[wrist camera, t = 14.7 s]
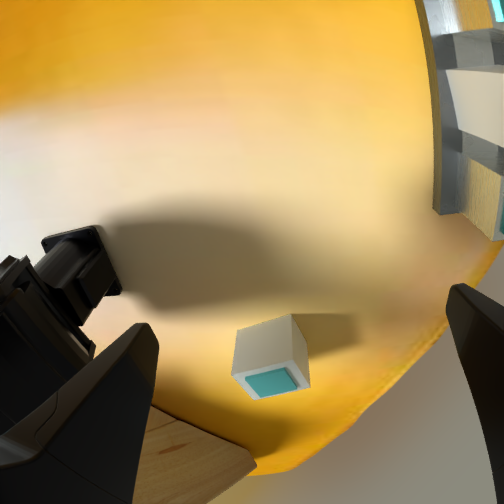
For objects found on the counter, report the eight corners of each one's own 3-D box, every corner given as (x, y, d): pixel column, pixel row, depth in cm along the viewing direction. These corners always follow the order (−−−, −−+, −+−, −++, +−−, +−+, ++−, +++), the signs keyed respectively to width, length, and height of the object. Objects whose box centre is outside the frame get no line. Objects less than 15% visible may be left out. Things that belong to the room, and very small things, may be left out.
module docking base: (432, 208, 20) (477, 254, 14) (407, -26, 11) (455, -55, 6) (500, 201, 19) (548, 240, 13) (486, -8, 10) (541, -18, 5)
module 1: (256, 356, 28) (253, 403, 24) (237, 329, 27) (230, 377, 22) (306, 342, 27) (310, 390, 22) (290, 313, 25) (292, 362, 21)
